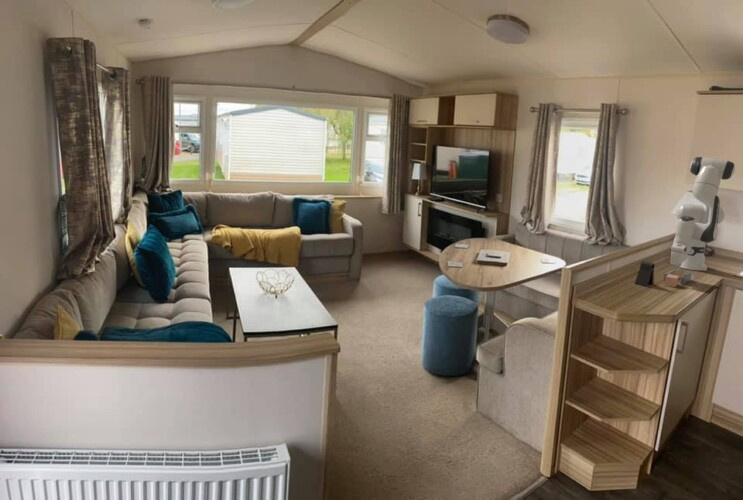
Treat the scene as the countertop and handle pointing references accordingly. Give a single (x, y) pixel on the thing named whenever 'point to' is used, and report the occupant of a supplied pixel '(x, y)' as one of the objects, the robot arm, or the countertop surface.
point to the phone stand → (645, 274)
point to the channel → (683, 279)
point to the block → (671, 280)
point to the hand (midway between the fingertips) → (677, 270)
